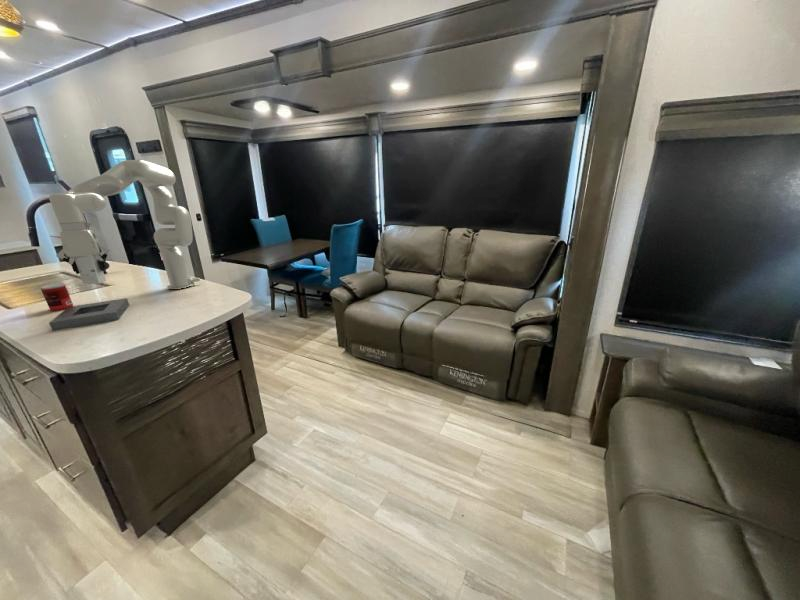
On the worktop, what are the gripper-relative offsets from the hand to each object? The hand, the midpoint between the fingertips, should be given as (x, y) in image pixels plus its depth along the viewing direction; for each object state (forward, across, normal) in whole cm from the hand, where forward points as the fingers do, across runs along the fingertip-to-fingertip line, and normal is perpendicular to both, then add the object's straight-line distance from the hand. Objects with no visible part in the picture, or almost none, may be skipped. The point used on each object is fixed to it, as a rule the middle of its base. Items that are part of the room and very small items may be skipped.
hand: (91, 271), depth 128 cm
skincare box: (+5, 0, 0) cm, 5 cm away
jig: (+20, +5, -2) cm, 20 cm away
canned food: (+20, +21, -26) cm, 39 cm away
